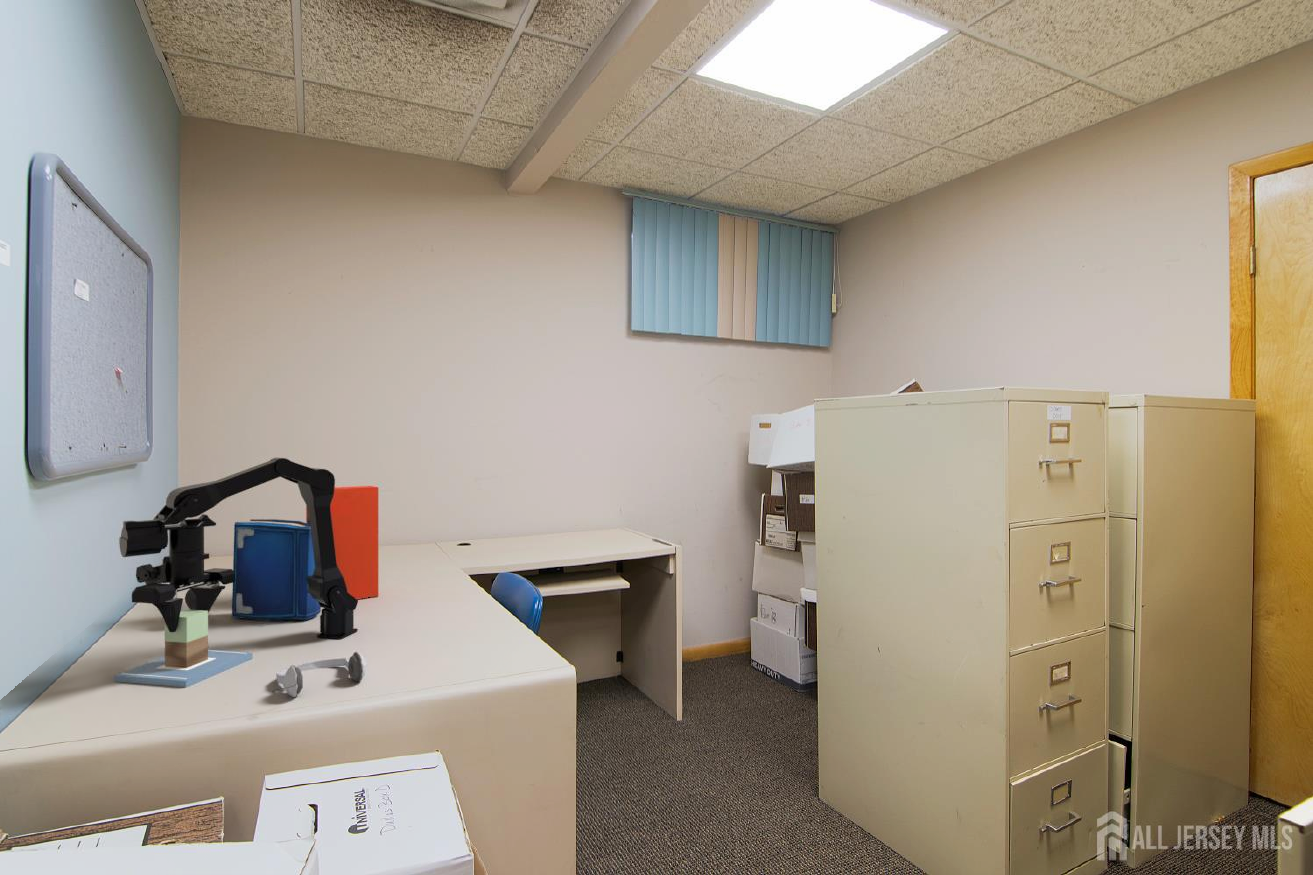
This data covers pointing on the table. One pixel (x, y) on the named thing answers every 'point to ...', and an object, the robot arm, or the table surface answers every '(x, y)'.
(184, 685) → the board
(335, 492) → the file binder
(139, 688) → the table surface
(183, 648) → the walnut block
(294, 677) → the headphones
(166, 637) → the green block
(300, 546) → the book
